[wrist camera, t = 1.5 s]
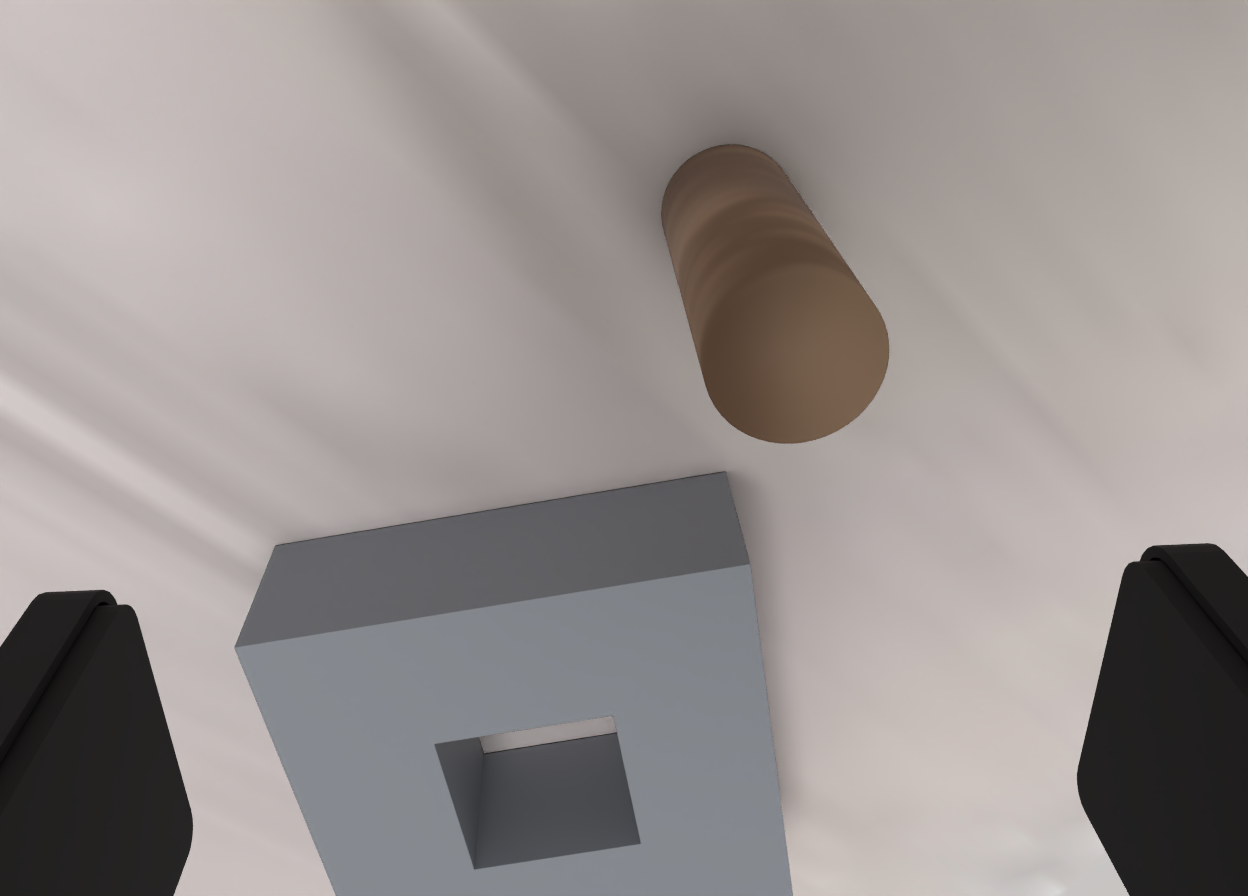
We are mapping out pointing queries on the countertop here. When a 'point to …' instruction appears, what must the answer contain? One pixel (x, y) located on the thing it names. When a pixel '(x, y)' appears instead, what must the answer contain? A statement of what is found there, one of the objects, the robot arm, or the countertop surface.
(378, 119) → the countertop surface
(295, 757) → the socket block
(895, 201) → the countertop surface
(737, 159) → the peg
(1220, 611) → the robot arm
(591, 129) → the countertop surface
